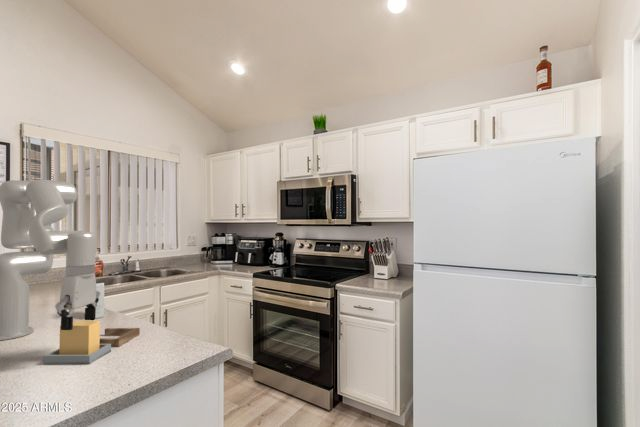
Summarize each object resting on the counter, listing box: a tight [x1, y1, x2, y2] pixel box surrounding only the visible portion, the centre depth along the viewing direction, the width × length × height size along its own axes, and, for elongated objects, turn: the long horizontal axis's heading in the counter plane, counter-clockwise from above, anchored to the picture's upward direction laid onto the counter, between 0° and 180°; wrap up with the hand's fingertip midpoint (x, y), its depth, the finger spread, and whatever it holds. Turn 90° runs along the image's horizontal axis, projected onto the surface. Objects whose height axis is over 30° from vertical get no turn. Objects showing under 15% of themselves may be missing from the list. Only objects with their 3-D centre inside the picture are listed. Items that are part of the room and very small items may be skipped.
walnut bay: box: [100, 327, 141, 348], centre depth 116 cm, size 13×12×2 cm
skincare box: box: [95, 282, 105, 319], centre depth 148 cm, size 8×6×15 cm
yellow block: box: [58, 320, 101, 355], centre depth 102 cm, size 10×5×10 cm, turn 90°
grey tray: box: [43, 344, 112, 365], centre depth 101 cm, size 14×10×2 cm
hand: (78, 324), depth 102 cm, fingers open, 9 cm apart
